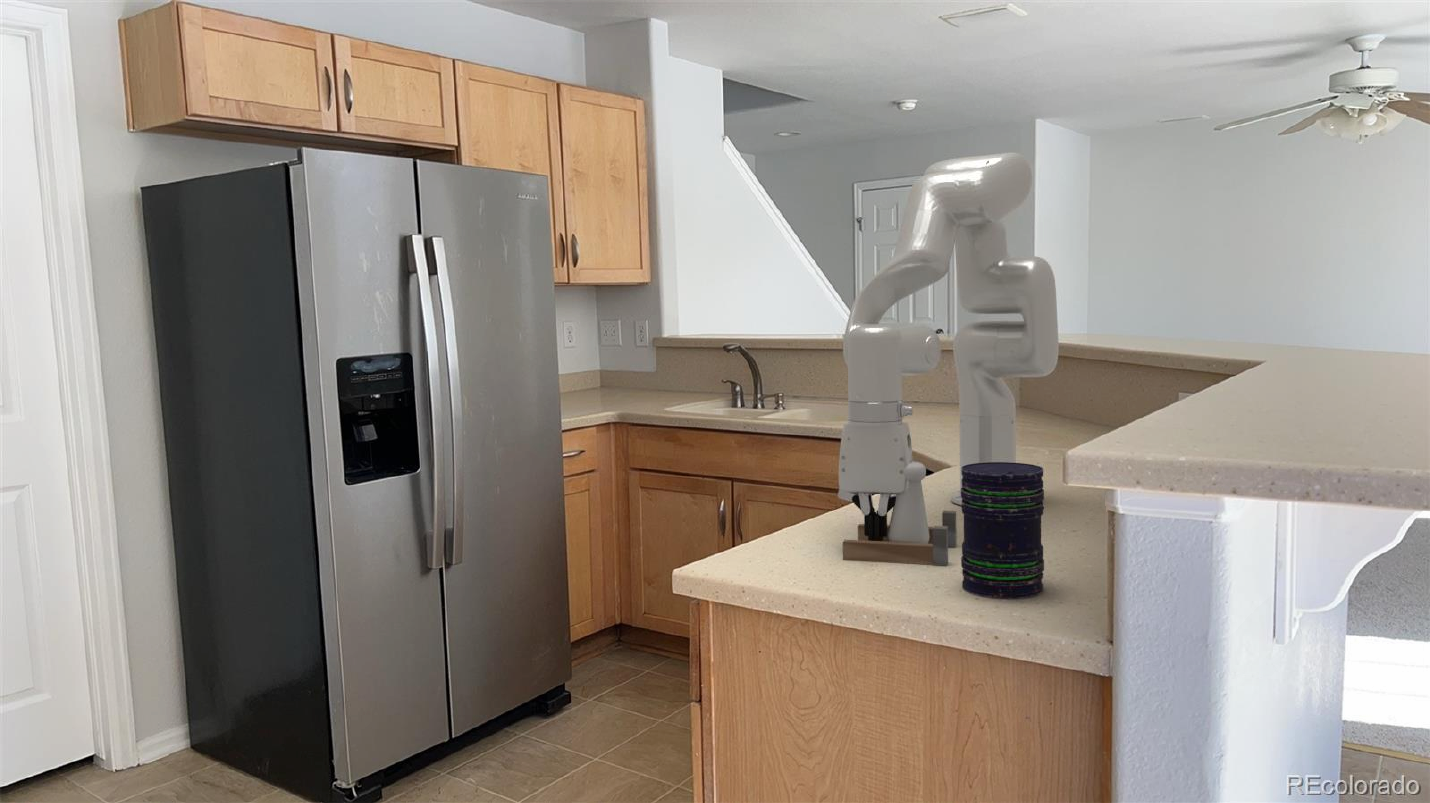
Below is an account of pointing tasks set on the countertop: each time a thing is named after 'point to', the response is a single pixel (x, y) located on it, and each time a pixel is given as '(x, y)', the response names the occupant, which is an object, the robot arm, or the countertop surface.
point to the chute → (906, 546)
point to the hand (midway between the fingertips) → (875, 541)
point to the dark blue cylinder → (1002, 530)
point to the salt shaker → (910, 509)
